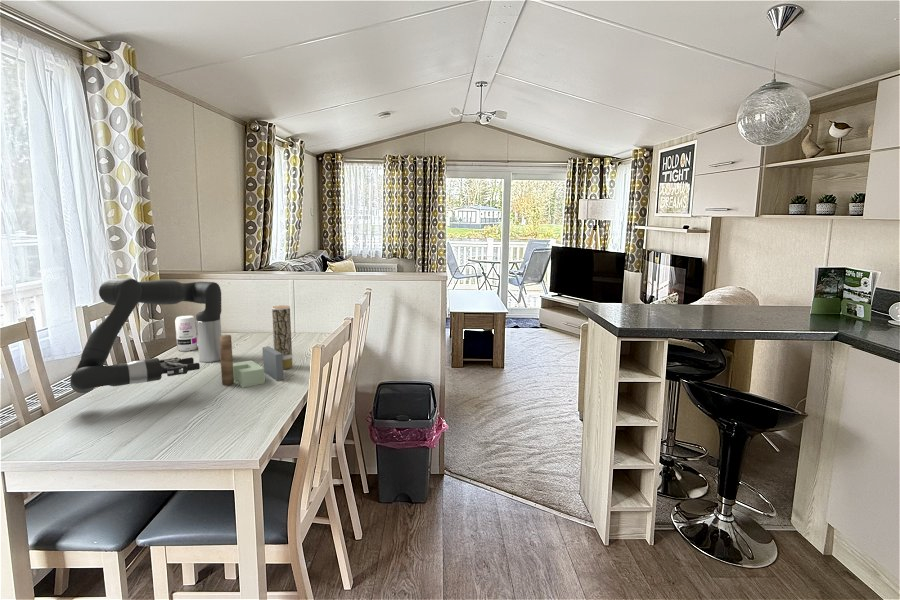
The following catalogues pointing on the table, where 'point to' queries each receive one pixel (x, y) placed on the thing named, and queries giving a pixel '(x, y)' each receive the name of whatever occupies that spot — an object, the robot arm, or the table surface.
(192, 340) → the supplement can
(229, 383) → the brown banded cylinder
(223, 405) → the table surface
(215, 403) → the table surface
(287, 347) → the brown bark cylinder
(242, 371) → the cradle
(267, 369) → the wall
